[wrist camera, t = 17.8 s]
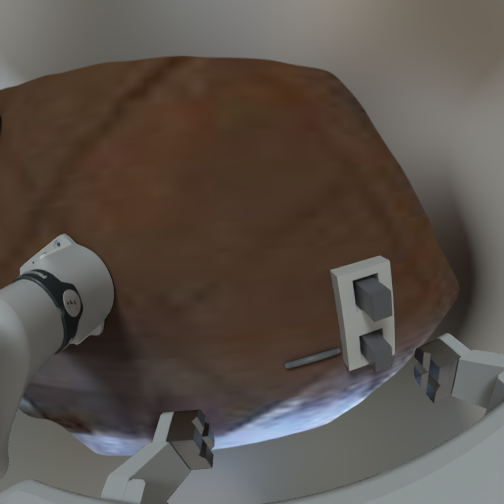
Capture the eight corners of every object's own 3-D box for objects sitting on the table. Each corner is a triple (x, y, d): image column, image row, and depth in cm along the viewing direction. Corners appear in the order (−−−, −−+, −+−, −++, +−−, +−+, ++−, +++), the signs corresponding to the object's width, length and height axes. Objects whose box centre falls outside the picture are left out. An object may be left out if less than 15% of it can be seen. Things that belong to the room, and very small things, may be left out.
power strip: (287, 376, 48) (294, 407, 40) (264, 288, 44) (269, 310, 36) (386, 344, 47) (407, 368, 39) (379, 255, 44) (405, 269, 35)
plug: (352, 298, 45) (374, 322, 36) (349, 276, 44) (372, 296, 35) (369, 293, 45) (393, 315, 36) (366, 271, 44) (391, 290, 35)
